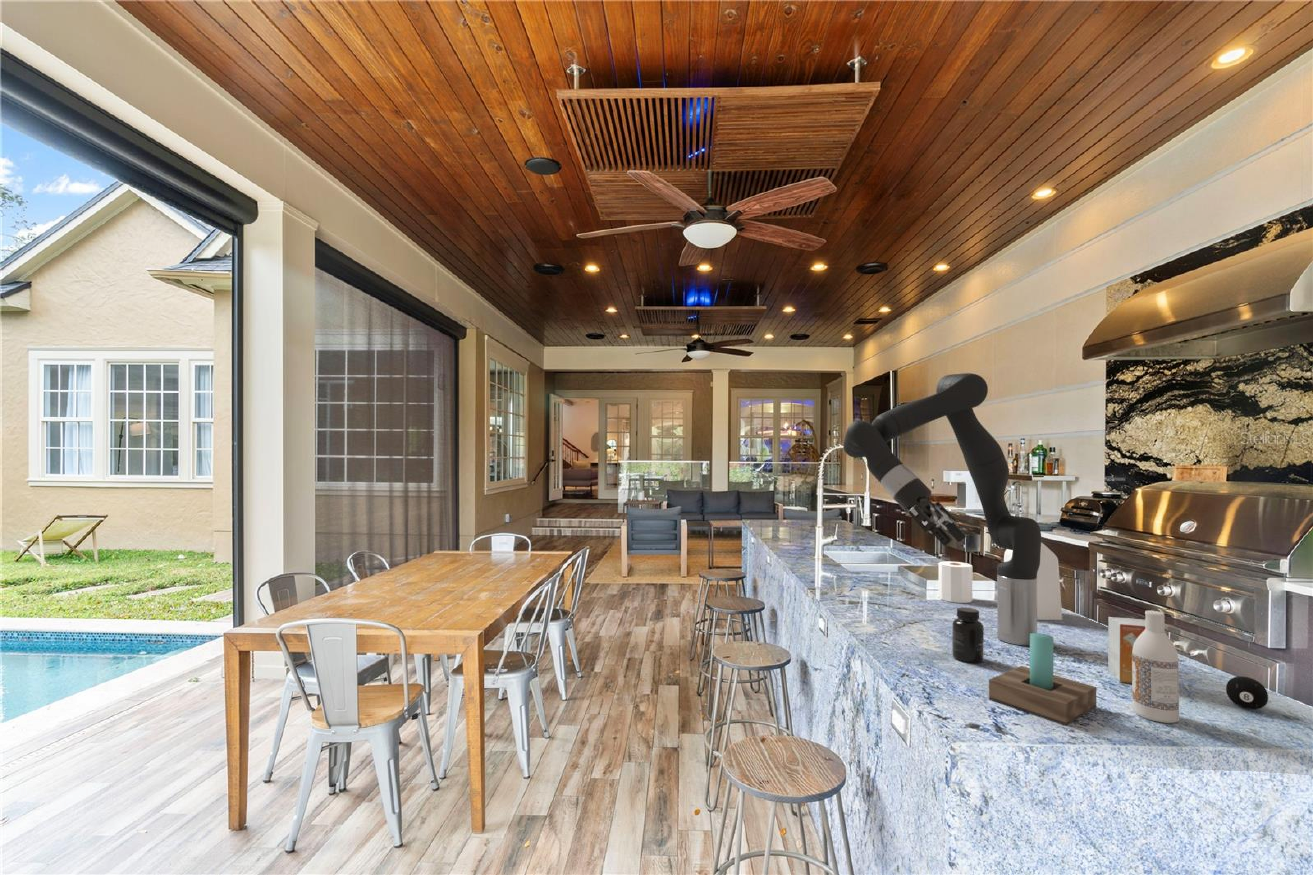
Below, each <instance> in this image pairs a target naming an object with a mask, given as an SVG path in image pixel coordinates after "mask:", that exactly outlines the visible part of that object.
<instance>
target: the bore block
mask: <svg viewBox="0 0 1313 875" xmlns="http://www.w3.org/2000/svg"><path fill="white" fill-rule="evenodd" d="M988 700H990V701H992V702H996V703H998V704H1002V705H1004V706H1005V705H1006V706H1007V707H1011V708H1013V709H1017V710H1019V711H1022V712H1026V713H1029V714H1031V715H1034V716H1038V717H1040V718H1043V719H1046V720H1049V721H1052V722H1055V723H1058V724H1061V725H1064V726H1067V725H1069V724H1071V723H1072V722H1075V721H1076V720H1078V719H1079V718H1081V717H1082V716H1084V715H1086V714H1088V713H1089V712H1091V711H1092V710H1094V709H1096V708H1097V687H1096V686H1094V685H1090V684H1087V683H1083V682H1080V681H1076V680H1073V679H1069V678H1065V677H1062V676H1058V675H1056V674H1053V690H1052V691H1049V690H1046V689H1042V688H1039V687H1036V686H1032V685H1030V667H1027V666H1023V665H1020V666H1018V667H1016V668H1012V669H1011V670H1008V671H1006V672H1004V673H1001V674H999V675H997V676H993V677H992V678H990V679H988Z"/></svg>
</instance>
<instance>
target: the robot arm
mask: <svg viewBox="0 0 1313 875" xmlns="http://www.w3.org/2000/svg"><path fill="white" fill-rule="evenodd" d="M988 388H989V387H988V384H987V381H986V380H985V379H984V378H983V377H982V376H981V375H979V374H976V373H971V372H967V373H953V374H948V375H945V376H943V377H941V378H940V379H939V380H938V382H937V385H936V393H934V394H931V395H929V396H925V397H923V398H920V399H916V400H913V401H909V402H906V403H903V404H900V405H898V406H895V407H893V408H891V409H890V410H889V409H888V410H886V411H885V412H883V413H881V414H878V415H876V417H875V419H874V420H873V421H872V423H871V422H869V421H866V420H863V419H862V420H861V419H859V420H858V419H856V420H854V421H852V422H851V423H850V424H848V427H847V429H846V432H845V435H844V439H843V443H842V444H843V445H842V448H843V450H844V452H845V454H846V455H848V456H849V457H851V458H855V459H859V458H861V459H862V458H865V459H866V467H867V470H868V471H869V472H870V474H871V475H873V477H874V478H875V479H876V480H877V481H878V482H879V483H880V484H881V485H882V487H883V488H884V490H885V491H886V492H887V493H888V495H889V496H890V497H891V498H892V499H893V500H894V501H895V502H896V503H897V504H898V506H900V507H901V509H902V510H903V511H904V512H905V513H908V515H910V517H911V518H912V519H913V520H914V521H915V523H916V524H917V525H918V526H919V527H920V528H921V529H922V531H924V533H927V532H928V533H930V534H931V535H932V534H933V536H934V537H935V538H936V539H937V541H939V542H940V543H941V544H942V545H943V546H948V545H950V544H951V543H952V542H953V538H954V539H955V541H957V542H958V543H961V542H963V541H964V540H965V539H966V538H967V535H966V534H965V532H964V531H963V529H961V528H960V527H959V526H958V525H957V524H956V521H957V519H956V517H954V516H953V515H952V514H951V513H950V512H949V510H948V509H946V507H944V506H943V505H942V504H941V503H940V501H935V502H932V501H931V500H930V497H931V496H932V490H931V489H930V488H929V487H928V486H927V485H926V484H925V483H924V482H923V481H922V480H921V479H920V478H919V477H918V476H917V474H915V473H914V472H913V470H911V469H910V468H909V467H907V466H906V465H905V464H904V463H903V462H902V461H901V460H900V459H899V458H898V457H897V456H896V454H894V453H893V452H892V451H891V449H890V447H889V445H888V444H887V443H888V442H890V441H891V440H895V439H896V438H898V437H901V436H902V435H905V434H907V433H909V432H911V431H913V430H916V429H918V428H920V427H922V426H923V425H926V424H928V423H930V422H932V421H933V422H934V421H935V420H938V419H941V418H943V417H946V418H947V420H948V423H949V424H950V426H951V428H952V430H953V433H954V435H955V438H956V441H957V443H958V445H959V448H960V450H961V453H962V455H963V458H964V462H965V464H966V467H967V469H968V471H969V472H968V473H969V474H970V477H971V479H972V482H973V483H974V487H975V489H976V492H977V495H978V498H979V500H980V504H981V506H982V511H983V515H984V519H985V523H986V526H987V530H988V533H989V536H990V538H991V541H992V542H993V543H994V544H995V545H996V547H997V548H998V547H999V548H1001V549H1006V550H1007V549H1009V550H1013V553H1012V558H1011V560H1010V561H1008V562H1004V561H1003V562H999V563H998V564H997V567H996V585H997V586H996V588H997V589H996V590H997V591H996V595H997V596H996V598H997V600H996V602H997V603H996V604H997V606H996V608H997V609H996V610H997V611H996V612H997V613H996V614H997V616H996V617H997V618H996V620H997V624H996V625H997V627H996V628H997V633H996V634H997V639H998V640H1000V641H1002V642H1005V643H1009V644H1013V645H1018V646H1019V645H1020V646H1030V634H1031V633H1038V620H1037V572H1038V569H1039V566H1040V553H1041V542H1042V532H1041V527H1040V525H1039V523H1038V522H1037V521H1036V520H1035V519H1034V518H1030V517H1026V516H1016V515H1012V514H1011V512H1010V511H1009V509H1008V506H1007V502H1006V500H1005V499H1006V498H1005V492H1006V488H1007V485H1008V482H1009V477H1010V468H1009V465H1008V462H1007V458H1006V456H1005V454H1004V451H1003V448H1002V446H1001V445H1000V444H999V443H998V441H997V440H996V438H995V437H994V436H992V434H991V433H990V432H989V431H988V430H987V429H986V428H985V427H984V426H983V425H982V424H981V422H980V421H979V419H978V417H977V416H976V414H975V412H974V409H973V408H976V407H978V406H980V405H981V404H983V403H984V401H985V400H986V398H987V395H988V393H989V389H988ZM943 528H944V529H945V530H944V529H943ZM946 530H947V532H946ZM948 533H949V534H950V535H951V536H952V537H953V538H952V537H951V536H950V535H949V534H948Z"/></svg>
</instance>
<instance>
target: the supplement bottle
mask: <svg viewBox="0 0 1313 875" xmlns="http://www.w3.org/2000/svg"><path fill="white" fill-rule="evenodd" d="M956 617H957V618H955V619H954V620H953V621H952V626H951V628H952V643H951V644H952V645H951V646H952V657H953V658H954V659H955V660H958V661H960V662H964V663H970V664H980V663H982V662H983V661H984V659H985V658H984V652H985V651H984V647H985V646H984V645H985V644H984V642H985V641H984V632H985V631H984V629H985V628H984V627H985V626H984V625H983V623H982V622H981V621H979V620H980V610H978V609H976V608H971V607H957V608H956Z"/></svg>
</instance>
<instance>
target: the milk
mask: <svg viewBox="0 0 1313 875" xmlns="http://www.w3.org/2000/svg"><path fill="white" fill-rule="evenodd" d="M1012 553H1013V550H1009V549H1006V550H1005V551H1004V555H1003V562H1008V561H1010V560H1011V558H1012ZM1059 565H1060V564H1059V558H1058V556H1057V555H1056V554H1055V553H1054V552H1053V551H1052V550H1051V549H1050V548H1048V546H1046V544H1044V543H1043V542H1042V541H1041V553H1040V566H1039V569H1038V572H1037V621H1038V620H1039V621H1041V620H1042V621H1043V620H1044V621H1047V620H1048V621H1054V620H1055V621H1063V610H1062V597H1061V596H1062V595H1061V581H1060V567H1059Z"/></svg>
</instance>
